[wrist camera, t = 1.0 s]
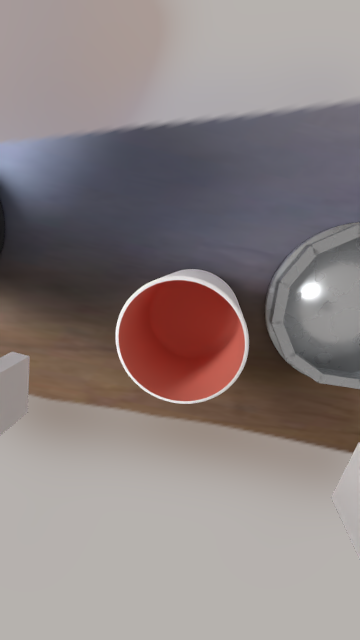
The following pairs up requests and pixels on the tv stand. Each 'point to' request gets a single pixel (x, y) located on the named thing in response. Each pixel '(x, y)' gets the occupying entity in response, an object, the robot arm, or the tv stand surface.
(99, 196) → the tv stand surface
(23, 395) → the robot arm
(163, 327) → the cup
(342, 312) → the faceted steel dish
